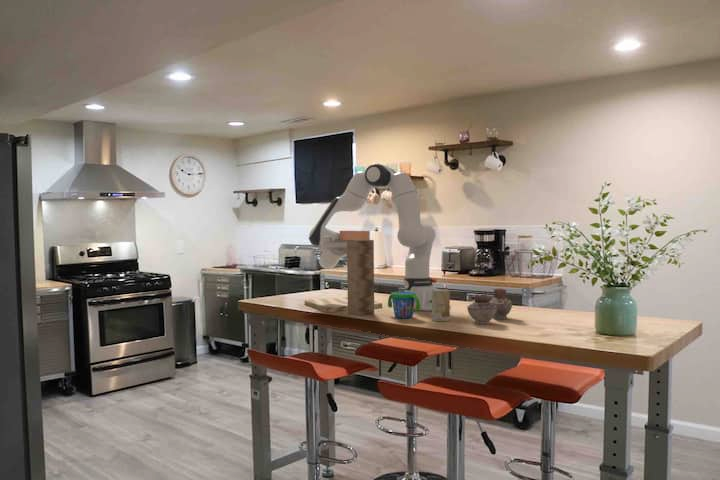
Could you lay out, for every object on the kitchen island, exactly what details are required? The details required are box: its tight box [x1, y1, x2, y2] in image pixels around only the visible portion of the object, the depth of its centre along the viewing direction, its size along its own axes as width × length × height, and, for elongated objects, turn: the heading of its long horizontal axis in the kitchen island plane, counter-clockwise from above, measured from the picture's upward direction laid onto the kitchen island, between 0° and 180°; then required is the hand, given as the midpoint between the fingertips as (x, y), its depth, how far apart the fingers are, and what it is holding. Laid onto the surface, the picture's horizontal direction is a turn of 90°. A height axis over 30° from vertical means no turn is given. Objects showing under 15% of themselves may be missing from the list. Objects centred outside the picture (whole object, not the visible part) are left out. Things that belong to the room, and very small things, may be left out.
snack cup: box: [387, 291, 420, 319], centre depth 232 cm, size 16×10×10 cm
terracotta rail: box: [339, 230, 371, 241], centre depth 243 cm, size 4×22×4 cm, turn 26°
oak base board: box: [304, 296, 383, 313], centre depth 266 cm, size 28×28×2 cm
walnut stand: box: [346, 239, 375, 316], centre depth 243 cm, size 8×10×32 cm
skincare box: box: [431, 289, 451, 322], centre depth 223 cm, size 6×4×12 cm
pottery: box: [466, 288, 514, 325], centre depth 222 cm, size 11×25×12 cm, turn 139°
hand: (347, 234), depth 250 cm, fingers open, 7 cm apart
